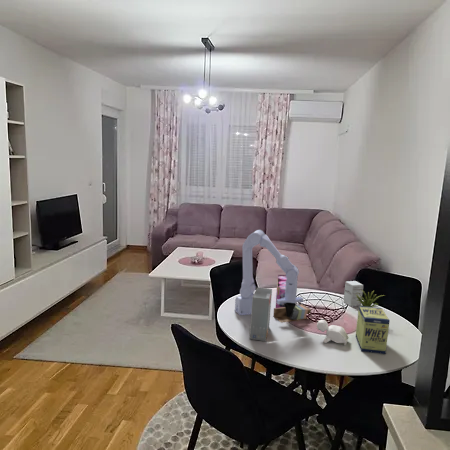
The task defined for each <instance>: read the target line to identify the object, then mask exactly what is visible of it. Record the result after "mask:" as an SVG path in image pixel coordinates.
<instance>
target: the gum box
mask: <svg viewBox="0 0 450 450" xmlns="http://www.w3.org/2000/svg"><path fill="white" fill-rule="evenodd" d="M276 279H277V281H276V293H275V294H276V295H275V308H281V307H285V305H284V303H283V304H277V303H276V302H277V299H281V298H285V287H286V280H287V278H286V274H278V275H277V278H276Z"/></svg>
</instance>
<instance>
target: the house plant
mask: <svg viewBox="0 0 450 450" xmlns="http://www.w3.org/2000/svg"><path fill="white" fill-rule="evenodd" d="M362 291H363V293H362V294H363V295H364V297H363V295H362V296H361V295H360V294H359V293H358V292H357V293H358V294H359V295H360V297H361V298H362V300H361V298H360V297H359V296H358V295H356V296H357V298H358V299H359V300H356V301H360V302H359V303H361V305H360V306H366V307H376V308H379V303H377V302H376V301H377V300H378V299H379V298H381V297H383V296H386V295H384V294H383V295H382V294H381V295H377V294H374V292H375V290H373V291H371V292H369V291H368V292H367V293H366V292H365V291H364V289H363V290H362ZM374 302H375V303H374Z"/></svg>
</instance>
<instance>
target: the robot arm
mask: <svg viewBox="0 0 450 450" xmlns="http://www.w3.org/2000/svg"><path fill="white" fill-rule="evenodd" d="M255 246H259V247H262V248H266V249H267V250H268V252H270V254H272V256H273V257H274V258H275V259H276V262H275V263H276V264H277V265H278V267H280V269H281V270H282V272H284V274H285V275H286V278H287V280H286V287H285V298H281V299H277V302H276V301H275V304H276V303H277V304H283V303H284V305H285V308H286V312H287V316H288V317H290V315H291V313H292V311H293V309H294V307H295V306H296V305H297V304H296V303H304V298H303V297H302V296H301V297H300V296H299V297H298V296H297V292H298V291H297V290H298V281H299V280H298V276H299V274H300V270H299V269H298V267H297V266H296V265H295V264H293V263H292V262H291V261H290V259H289V257H288V256H286V255H285V254H282V253H281V252H280V251H279V250H278V248H277V247H276V246H275V244H274V243H273V242H272V241H271V239H270V238H269V235H267V234H265V232H264V231H263V230H262V229H256V230H255V231H253V232H252V233H250V234H249V235H248V236H247V237H246V239H245V240H244V242H243V244H242V246H241V247H242V282H241V285H240V286H241V287H240V289H239V296H236V298H235V301H234V311H235V312H236V313H237V314H238V315H239V316H247V315H251V313H252V301H253V296H254V293H255V291H256V289H257V286H256V284H255V279H254V275H253V274H254V272H253V265H254V264H253V249H254V247H255Z"/></svg>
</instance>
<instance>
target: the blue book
mask: <svg viewBox="0 0 450 450" xmlns="http://www.w3.org/2000/svg"><path fill="white" fill-rule="evenodd" d="M299 305H300V304H299ZM299 305H297V304H296V306H297V307H298V308H300V309H301V310H302V313H301V318H300V319H303V318H304V314H305V309H304V308H302V307H301V306H299Z"/></svg>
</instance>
